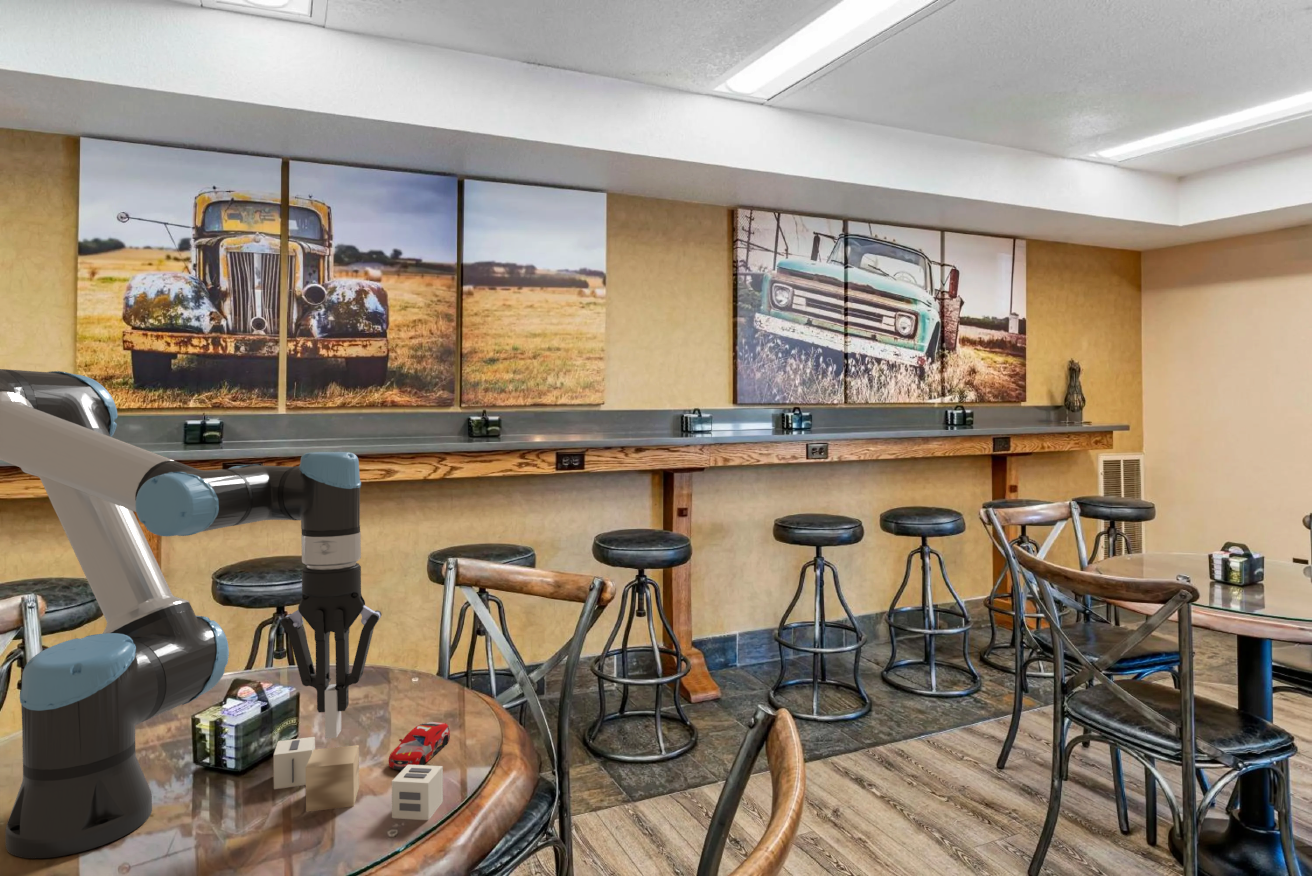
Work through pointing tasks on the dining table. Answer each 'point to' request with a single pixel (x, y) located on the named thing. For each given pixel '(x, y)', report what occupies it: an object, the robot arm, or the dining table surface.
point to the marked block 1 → (292, 762)
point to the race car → (420, 745)
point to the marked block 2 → (417, 792)
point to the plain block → (332, 778)
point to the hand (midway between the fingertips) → (333, 733)
